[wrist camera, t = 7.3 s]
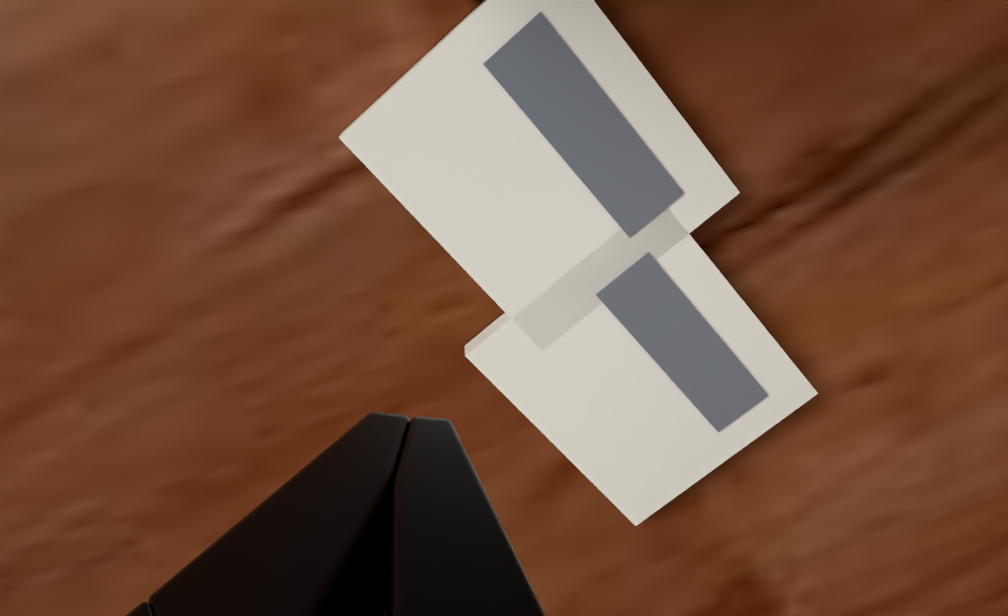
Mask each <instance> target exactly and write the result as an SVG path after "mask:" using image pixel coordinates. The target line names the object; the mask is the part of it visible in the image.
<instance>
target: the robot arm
mask: <svg viewBox="0 0 1008 616" xmlns="http://www.w3.org/2000/svg"><path fill="white" fill-rule="evenodd" d="M126 616H546V615H545V613H544V611H543V609H542V607H541V605H540V603H539V601H538V599H537V597H536V595H535V593H534V591H533V589H532V587H531V585H530V583H529V580H528V578H527V576H526V574H525V572H524V570H523V568H522V566H521V564H520V562H519V560H518V558H517V556H516V554H515V552H514V550H513V548H512V545H511V543H510V541H509V539H508V537H507V535H506V533H505V531H504V529H503V527H502V525H501V523H500V521H499V519H498V517H497V515H496V513H495V510H494V508H493V506H492V504H491V502H490V500H489V498H488V496H487V494H486V492H485V490H484V488H483V486H482V484H481V482H480V480H479V478H478V476H477V473H476V471H475V469H474V467H473V465H472V463H471V461H470V459H469V457H468V455H467V453H466V451H465V449H464V447H463V445H462V443H461V441H460V438H459V436H458V434H457V432H456V430H455V428H454V426H453V424H452V423H451V422H450V421H449V420H448V419H441V418H431V417H421V416H416V417H414V418H412V420H411V421H410V420H409V418H408V417H407V416H406V415H401V414H392V413H382V412H372V413H370V414H368V415H367V416H365V417H364V418H363V419H362V420H361V421H359V422H358V423H357V424H356V425H355V426H353V427H352V428H351V429H350V430H349V431H347V432H346V433H345V434H344V435H343V436H341V437H340V438H339V439H338V440H337V441H335V442H334V443H333V444H332V445H331V446H329V447H328V448H327V449H326V450H325V451H323V452H322V453H321V454H320V455H319V456H317V457H316V458H315V459H314V460H313V461H311V462H310V463H309V464H308V465H307V466H305V467H304V468H303V469H302V470H301V471H300V472H298V473H297V474H296V475H295V476H294V477H292V478H291V479H290V480H289V481H288V482H286V483H285V484H284V485H283V486H282V487H280V488H279V489H278V490H277V491H276V492H274V493H273V494H272V495H271V496H270V497H268V498H267V499H266V500H265V501H264V502H262V503H261V504H260V505H259V506H258V507H256V508H255V509H254V510H253V511H252V512H250V513H249V514H248V515H247V516H246V517H244V518H243V519H242V520H241V521H240V522H238V523H237V524H236V525H235V526H234V527H232V528H231V529H230V530H229V531H228V532H226V533H225V534H224V535H223V536H222V537H220V538H219V539H218V540H217V541H216V542H214V543H213V544H212V545H211V546H210V547H208V548H207V549H206V550H205V551H204V552H202V553H201V554H200V555H199V556H198V557H196V558H195V559H194V560H193V561H192V562H190V563H189V564H188V565H187V566H186V567H184V568H183V569H182V570H181V571H180V572H178V573H177V574H176V575H175V576H174V577H173V578H171V579H170V580H169V581H168V582H167V583H165V584H164V585H163V586H162V587H161V588H159V589H158V590H157V591H156V592H155V593H153V594H152V595H151V596H150V598H149V603H147V602H143V603H141V604H140V605H138V606H137V607H136V608H135V609H134V610H132V611H131V612H130V613H129V614H128V615H126Z"/></svg>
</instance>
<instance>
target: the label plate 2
mask: <svg viewBox="0 0 1008 616" xmlns="http://www.w3.org/2000/svg"><path fill="white" fill-rule="evenodd" d="M666 208H667V207H666ZM665 210H667V209H665ZM671 213H672V212H671ZM660 214H661V213H660ZM662 215H663V214H662ZM663 216H664V215H663ZM668 216H669V215H668ZM672 216H673V215H672ZM669 217H670V216H669ZM669 217H668V218H669ZM674 217H675V216H674ZM662 218H663V217H662ZM662 218H661V219H662ZM669 219H670V218H669ZM662 220H664V219H662ZM667 220H668V219H667ZM675 220H676V219H675ZM677 221H678V220H677ZM657 222H659V221H657ZM662 222H663V221H662ZM678 222H679V221H678ZM654 223H655V222H654ZM664 223H665V222H664ZM671 223H673V222H671ZM671 223H670V224H671ZM657 224H658V223H657ZM662 224H663V223H662ZM667 224H668V222H667ZM677 224H678V223H677ZM677 224H676V225H677ZM651 225H652V224H651ZM672 225H673V224H672ZM660 226H661V225H660ZM660 226H659V227H660ZM663 226H664V225H663ZM665 226H666V225H665ZM677 226H679V225H677ZM682 226H683V225H682ZM666 227H667V226H666ZM666 227H665V228H666ZM671 227H672V226H671ZM674 227H675V226H674ZM674 227H673V228H674ZM679 227H680V226H679ZM660 228H661V227H660ZM677 228H678V227H677ZM621 229H622V228H621ZM649 229H650V228H649ZM658 229H659V228H658ZM666 229H667V228H666ZM671 229H672V228H671ZM679 229H680V228H679ZM660 230H661V229H660ZM668 230H669V229H668ZM672 230H673V229H672ZM685 230H686V229H685ZM658 231H659V230H658ZM669 231H670V230H669ZM669 231H668V233H669ZM673 231H675V230H673ZM686 231H687V230H686ZM680 232H681V231H680ZM661 233H662V232H661ZM668 233H667V234H668ZM674 233H675V232H674ZM686 233H687V232H686ZM658 234H659V233H658ZM663 234H664V233H663ZM678 234H679V233H678ZM680 234H681V233H680ZM618 235H619V234H618ZM635 235H636V234H635ZM669 235H670V234H669ZM673 235H674V234H673ZM681 235H682V234H681ZM657 236H659V235H657ZM675 236H676V235H675ZM683 236H684V235H683ZM657 238H658V237H657ZM662 238H663V237H662ZM670 238H671V237H670ZM663 239H664V238H663ZM668 239H669V238H668ZM679 239H680V238H679ZM679 239H678V240H679ZM612 240H613V239H612ZM645 240H646V239H645ZM657 240H658V239H657ZM633 241H634V240H633ZM649 241H650V240H649ZM654 241H656V240H654ZM659 241H660V240H659ZM666 241H667V240H666ZM671 241H672V240H671ZM640 242H641V241H640ZM642 242H643V241H642ZM644 242H645V241H644ZM652 242H653V241H652ZM672 242H673V241H672ZM672 242H671V243H672ZM677 242H678V241H677ZM630 244H631V243H630ZM644 244H645V243H644ZM660 244H661V243H660ZM669 244H670V243H669ZM654 245H655V244H654ZM661 245H662V244H661ZM661 245H660V247H662V246H661ZM666 245H667V244H666ZM667 246H668V245H667ZM672 246H673V245H672ZM638 247H639V246H638ZM653 247H654V246H653ZM660 247H659V248H660ZM664 247H665V243H664ZM642 248H643V247H642ZM635 249H636V248H635ZM629 250H630V249H629ZM649 250H650V249H649ZM659 250H660V249H659ZM635 251H636V250H635ZM663 251H664V250H663ZM663 251H662V252H663ZM632 252H633V251H632ZM659 252H660V251H659ZM651 253H652V252H651ZM632 254H633V253H632ZM639 254H642V253H639ZM644 254H645V253H644ZM657 254H658V253H657ZM655 255H656V254H655ZM658 255H659V254H658ZM658 255H657V256H658ZM606 256H607V255H606ZM600 257H601V256H600ZM612 259H613V258H612ZM631 259H632V258H631ZM617 260H618V259H617ZM611 261H612V260H611ZM626 261H627V260H626ZM632 261H633V260H632ZM604 262H605V261H604ZM630 263H631V262H630ZM606 264H607V263H606ZM632 264H633V263H632ZM632 264H631V266H630V267H629V268H628V269H626V270H625V271H623V273H622V274H620V275H617V276H618V277H617V278H615V279H614V280H613V281H612V282H610V283H609V284H608V285H607V286H605V287H604V288H603V289H602V290H600V291H599V292H598V293H596V296H597V297H598V298H599V299H600V300H601V301H602V302H603V303H602V304H601V305H600V306H598V307H597V308H596V309H595V310H593V311H592V312H591V313H590V314H588V315H587V316H586V317H585V318H583V319H582V320H581V321H580V322H578V323H577V324H576V325H575V326H573V327H572V328H571V329H570V330H568V331H567V332H566V333H565V334H563V335H562V336H561V337H560V338H558V339H557V340H556V341H555V342H553V343H552V344H551V345H550V346H548V347H547V348H546V349H545V350H543V351H541V349H540V348H539V347H538V346H537V345H536V344H535V343H534V342H533V341H532V340H531V339H530V338H529V336H527V335H526V334H525V333H524V331H522V330H521V328H520V327H519V326H518V325H519V324H518V325H517V324H516V323H515V322H514V321H513V320H512V319H511V318H510V317H509V316H508V315H507V314H506V313H504V314H503V315H501V316H500V317H499V318H498V319H496V320H495V321H494V322H493V323H492V324H490V325H489V326H488V327H487V328H486V329H484V330H483V331H482V332H481V333H479V334H478V335H477V336H476V337H475V338H473V339H472V340H471V341H470V342H469V343H467V344H466V345H465V356H466V357H467V358H468V359H469V360H470V361H471V362H472V363H473V364H474V365H475V366H476V367H477V368H478V369H479V370H480V371H481V372H482V373H483V374H484V375H485V376H486V377H487V378H488V379H489V380H490V381H491V382H492V383H493V384H494V385H495V386H496V387H497V388H498V389H499V390H500V391H501V392H502V393H503V394H504V395H505V396H506V397H507V398H508V399H509V400H510V401H511V402H512V403H513V404H514V405H515V406H516V407H517V408H518V409H519V410H520V411H521V412H522V413H523V414H524V415H525V416H526V417H527V418H528V419H529V420H530V421H531V422H532V423H533V424H534V425H535V426H536V427H537V428H538V429H539V430H540V431H541V432H542V433H543V434H544V435H545V436H546V437H547V438H548V439H549V440H550V441H551V442H552V443H553V444H554V445H555V446H556V447H557V448H558V449H559V450H560V451H561V452H562V453H563V454H564V455H565V456H566V457H567V458H568V459H569V460H570V461H571V462H572V463H573V464H574V465H575V466H576V467H577V468H578V469H579V470H580V471H581V472H582V473H583V474H584V475H585V476H586V477H587V478H588V479H589V480H590V481H591V482H592V483H593V484H594V485H595V486H596V487H597V488H598V489H599V490H600V491H601V492H602V493H603V494H604V495H605V496H606V497H607V498H608V499H609V500H610V501H611V502H612V503H613V504H614V505H615V506H616V507H617V508H618V509H619V510H620V511H621V512H622V513H623V514H624V515H625V516H626V517H627V518H628V519H629V520H630V521H631V522H632V523H633V524H634V525H635V526H637V525H638V524H639V523H641V522H642V521H644V520H645V519H646V518H648V517H649V516H650V515H652V514H653V513H655V512H656V511H657V510H659V509H660V508H661V507H663V506H664V505H666V504H667V503H668V502H670V501H671V500H672V499H674V498H675V497H677V496H678V495H679V494H681V493H682V492H683V491H685V490H686V489H688V488H689V487H690V486H692V485H693V484H694V483H696V482H697V481H699V480H700V479H701V478H703V477H704V476H705V475H707V474H708V473H710V472H711V471H712V470H714V469H715V468H716V467H718V466H719V465H721V464H722V463H723V462H725V461H726V460H727V459H729V458H730V457H732V456H733V455H734V454H736V453H737V452H738V451H740V450H741V449H743V448H744V447H745V446H747V445H748V444H749V443H751V442H752V441H754V440H755V439H756V438H758V437H759V436H760V435H762V434H763V433H765V432H766V431H767V430H769V429H770V428H772V427H773V426H774V425H776V424H777V423H778V422H780V421H781V420H783V419H784V418H785V417H787V416H788V415H789V414H791V413H792V412H794V411H795V410H796V409H798V408H799V407H800V406H802V405H803V404H805V403H806V402H807V401H809V400H810V399H811V398H813V397H814V396H816V395H817V394H818V393H817V392H816V390H815V389H814V388H813V387H812V385H811V384H810V383H809V382H808V380H807V379H806V378H805V377H804V375H803V374H802V373H801V372H800V370H799V369H798V368H797V367H796V365H795V364H794V363H793V362H792V361H791V359H790V358H789V357H788V356H787V354H786V353H785V352H784V351H783V349H782V348H781V347H780V346H779V344H778V343H777V342H776V341H775V339H774V338H773V337H772V336H771V334H770V333H769V332H768V331H767V330H766V328H765V327H764V326H763V325H762V323H761V322H760V321H759V320H758V318H757V317H756V316H755V315H754V313H753V312H752V311H751V310H750V308H749V307H748V306H747V305H746V304H745V302H744V301H743V300H742V299H741V297H740V296H739V295H738V294H737V292H736V291H735V290H734V289H733V287H732V286H731V285H730V284H729V282H728V281H727V280H726V279H725V277H724V276H723V275H722V274H721V273H720V271H719V270H718V269H717V268H716V266H715V265H714V264H713V263H712V261H711V260H710V259H709V258H708V256H707V255H706V254H705V253H704V251H703V250H702V249H701V248H700V247H699V245H698V244H697V243H696V242H695V240H694V239H693V238H692V237H691V235H690V234H689V233H688V235H687V236H686V237H685V236H684V238H683V239H682V240H681V241H680V240H679V242H678V243H677V244H676V245H674V246H673V247H672V248H671V249H670V248H669V250H668V251H667V252H665V253H664V254H663V255H662V256H661V257H659V258H658V259H657V260H656V261H655V259H654V258H653V257H652V256H651V254H650V253H649V252H648V253H646V254H645V255H644V256H643V257H641V258H640V259H639V260H638V261H636V262H635V263H634V264H633V265H632ZM626 265H628V264H626ZM616 266H617V265H616ZM605 267H606V266H605ZM627 267H628V266H627ZM592 268H593V267H592ZM611 268H612V267H611ZM597 269H598V268H597ZM623 270H624V269H623ZM592 271H593V270H592ZM593 272H594V271H593ZM607 273H608V272H607ZM612 273H613V272H612ZM578 275H579V274H578ZM584 276H585V275H584ZM574 277H575V276H574ZM590 277H591V276H590ZM598 277H599V276H598ZM605 277H606V276H605ZM576 278H577V277H576ZM574 279H575V278H574ZM610 279H611V278H610ZM588 280H589V279H588ZM594 280H595V278H594ZM594 280H593V281H594ZM603 282H604V281H603ZM577 283H578V282H577ZM564 284H565V283H564ZM593 284H594V283H593ZM560 285H561V284H560ZM581 286H582V285H581ZM590 286H591V285H590ZM598 286H599V285H598ZM555 287H556V286H555ZM567 287H568V286H567ZM587 287H588V286H587ZM593 288H594V287H593ZM570 289H571V288H570ZM575 289H576V288H575ZM579 289H580V288H579ZM580 290H581V289H580ZM574 291H575V290H574ZM582 291H583V290H582ZM590 291H591V290H590ZM594 291H595V290H594ZM594 294H595V293H594ZM560 295H561V294H560ZM552 298H553V297H552ZM552 298H551V299H552ZM563 298H564V297H563ZM578 298H579V297H578ZM591 298H592V297H591ZM572 299H573V298H572ZM585 300H586V299H585ZM579 301H580V300H579ZM556 302H557V301H556ZM567 303H568V302H567ZM579 303H580V302H579ZM572 304H573V303H572ZM549 305H550V304H549ZM582 305H583V304H582ZM550 306H551V305H550ZM593 306H594V305H593ZM544 307H545V306H544ZM563 308H564V307H563ZM567 310H568V309H567ZM570 310H571V309H570ZM581 311H582V310H581ZM548 312H549V311H548ZM557 314H558V313H557ZM577 316H578V315H577ZM537 319H538V317H537ZM578 321H579V320H578ZM545 322H546V321H545ZM550 324H551V323H550ZM570 326H571V325H570ZM542 334H543V333H542ZM560 334H561V333H560ZM532 336H533V335H532ZM540 339H541V338H540ZM534 340H535V339H534Z"/></svg>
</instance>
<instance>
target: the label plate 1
mask: <svg viewBox="0 0 1008 616" xmlns="http://www.w3.org/2000/svg"><path fill="white" fill-rule="evenodd" d="M339 139H340V140H341V141H342V142H343V143H344V144H345V145H346V146H347V147H348V148H349V149H350V150H351V151H352V152H353V153H354V154H355V155H356V156H357V157H358V158H359V160H360V161H361V162H362V163H363V164H364V165H365V166H366V167H367V168H368V169H369V170H370V171H371V172H372V173H373V174H374V175H375V176H376V177H377V178H378V179H379V181H380V182H381V183H382V184H383V185H384V186H385V187H386V188H387V189H388V190H389V191H390V192H391V193H392V194H393V195H394V196H395V197H396V198H397V199H398V200H399V202H400V203H401V204H402V205H403V206H404V207H405V208H406V209H407V210H408V211H409V212H410V213H411V214H412V215H413V216H414V217H415V218H416V219H417V220H418V221H419V223H420V224H421V225H422V226H423V227H424V228H425V229H426V230H427V231H428V232H429V233H430V234H431V235H432V236H433V237H434V238H435V239H436V240H437V241H438V242H439V243H440V245H441V246H442V247H443V248H444V249H445V250H446V251H447V252H448V253H449V254H450V255H451V256H452V257H453V258H454V259H455V260H456V261H457V262H458V263H459V264H460V266H461V267H462V268H463V269H464V270H465V271H466V272H467V273H468V274H469V275H470V276H471V277H472V278H473V279H474V280H475V281H476V282H477V283H478V284H479V285H480V287H481V288H482V289H483V290H484V291H485V292H486V293H487V294H488V295H489V296H490V297H491V298H492V299H493V300H494V301H495V302H496V303H497V304H498V305H499V306H500V307H501V309H502V310H503V311H504V312H505V313H506V314H507V315H508V316H509V317H510V318H511V319H512V320H513V321H514V322H515V323H516V324H517V325H518V324H519V325H518V326H519V327H520V328H521V330H522V331H524V333H525V334H526V335H527V336H529V338H530V339H531V340H532V341H533V342H534V343H535V344H536V345H537V346H538V347H539V348H540V349H541V351H543V350H545V349H546V348H547V347H548V346H550V345H551V344H552V343H553V342H555V341H556V340H557V339H558V338H560V337H561V336H562V335H563V334H565V333H566V332H567V331H568V330H570V329H571V328H572V327H573V326H575V325H576V324H577V323H578V322H580V321H581V320H582V319H583V318H585V317H586V316H587V315H588V314H590V313H591V312H592V311H593V310H595V309H596V308H597V307H598V306H600V305H601V304H602V303H603V302H602V301H601V300H600V299H599V298H598V297H597V296H596V293H598V292H599V291H600V290H602V289H603V288H604V287H605V286H607V285H608V284H609V283H610V282H612V281H613V280H614V279H615V278H617V277H618V276H617V275H620V274H622V273H623V271H625V270H626V269H628V268H629V267H630V266H631V264H632V263H633V264H634V263H635V262H636V261H638V260H639V259H640V258H641V257H643V256H644V255H645V254H646V253H648V252H649V253H650V254H651V256H652V257H653V258H654V259H655V261H656V260H657V259H658V258H659V257H661V256H662V255H663V254H664V253H665V252H667V251H668V250H669V248H670V249H671V248H672V247H673V246H674V245H676V244H677V243H678V242H679V240H680V241H681V240H682V239H683V238H684V236H685V237H686V236H687V235H688V233H691V232H692V231H693V230H694V229H696V228H697V227H698V226H699V225H701V224H702V223H703V222H704V221H706V220H707V219H708V218H709V217H710V216H712V215H713V214H714V213H715V212H717V211H718V210H719V209H720V208H722V207H723V206H724V205H725V204H727V203H728V202H729V201H730V200H732V199H733V198H734V197H735V196H737V195H738V194H739V193H740V192H739V191H738V189H737V188H736V187H735V185H734V184H733V183H732V181H731V180H730V179H729V177H728V176H727V175H726V174H725V172H724V171H723V170H722V168H721V167H720V166H719V164H718V163H717V162H716V160H715V159H714V158H713V156H712V155H711V154H710V153H709V151H708V150H707V149H706V147H705V146H704V145H703V143H702V142H701V141H700V139H699V138H698V137H697V135H696V134H695V133H694V131H693V130H692V129H691V128H690V126H689V125H688V124H687V122H686V121H685V120H684V118H683V117H682V116H681V114H680V113H679V112H678V110H677V109H676V108H675V107H674V105H673V104H672V103H671V101H670V100H669V99H668V97H667V96H666V95H665V93H664V92H663V91H662V89H661V88H660V87H659V85H658V84H657V83H656V82H655V80H654V79H653V78H652V76H651V75H650V74H649V72H648V71H647V70H646V68H645V67H644V66H643V64H642V63H641V62H640V60H639V59H638V58H637V57H636V55H635V54H634V53H633V51H632V50H631V49H630V47H629V46H628V45H627V43H626V42H625V41H624V39H623V38H622V37H621V36H620V34H619V33H618V32H617V30H616V29H615V28H614V26H613V25H612V24H611V22H610V21H609V20H608V18H607V17H606V16H605V14H604V13H603V12H602V11H601V9H600V8H599V7H598V5H597V4H596V3H595V1H594V0H484V1H483V2H482V3H481V4H480V5H479V6H478V7H477V8H476V9H475V10H474V11H473V12H471V13H470V14H469V15H468V16H467V17H466V18H465V19H464V20H463V21H462V22H461V23H460V24H458V25H457V26H456V27H455V28H454V29H453V30H452V31H451V32H450V33H449V34H448V35H447V36H446V37H444V38H443V39H442V40H441V41H440V42H439V43H438V44H437V45H436V46H435V47H434V48H433V49H432V50H430V51H429V52H428V53H427V54H426V55H425V56H424V57H423V58H422V59H421V60H420V61H419V62H418V63H416V64H415V65H414V66H413V67H412V68H411V69H410V70H409V71H408V72H407V73H406V74H405V75H404V76H402V77H401V78H400V79H399V80H398V81H397V82H396V83H395V84H394V85H393V86H392V87H391V88H390V89H388V90H387V91H386V92H385V93H384V94H383V95H382V96H381V97H380V98H379V99H378V100H377V101H376V102H374V103H373V104H372V105H371V106H370V107H369V108H368V109H367V110H366V111H365V112H364V113H363V114H361V115H360V116H359V117H358V118H357V119H356V120H355V121H354V122H353V123H352V124H351V125H350V126H349V127H347V128H346V129H345V130H344V131H343V132H342V133H341V135H340V137H339ZM666 207H667V208H666ZM665 209H667V210H665ZM671 212H672V213H671ZM660 213H661V214H660ZM662 214H663V215H664V216H663V215H662ZM668 215H669V216H670V217H669V216H668ZM672 215H673V216H672ZM674 216H675V217H674ZM662 217H663V218H662ZM668 217H669V218H670V219H669V218H668ZM661 218H662V219H664V220H662V219H661ZM667 219H668V220H667ZM675 219H676V220H675ZM677 220H678V221H679V222H678V221H677ZM657 221H659V222H657ZM662 221H663V222H662ZM654 222H655V223H654ZM664 222H665V223H664ZM667 222H668V224H667ZM671 222H673V223H671ZM657 223H658V224H657ZM662 223H663V224H662ZM670 223H671V224H670ZM677 223H678V224H677ZM651 224H652V225H651ZM672 224H673V225H672ZM676 224H677V225H679V226H680V227H679V226H677V225H676ZM660 225H661V226H660ZM663 225H664V226H663ZM665 225H666V226H667V227H666V226H665ZM682 225H683V226H682ZM659 226H660V227H661V228H660V227H659ZM671 226H672V227H671ZM674 226H675V227H674ZM665 227H666V228H667V229H666V228H665ZM673 227H674V228H673ZM677 227H678V228H677ZM621 228H622V229H621ZM649 228H650V229H649ZM658 228H659V229H658ZM671 228H672V229H673V230H675V231H673V230H672V229H671ZM679 228H680V229H679ZM660 229H661V230H660ZM668 229H669V230H670V231H669V230H668ZM685 229H686V230H687V231H686V230H685ZM658 230H659V231H658ZM668 231H669V233H668ZM680 231H681V232H680ZM661 232H662V233H661ZM674 232H675V233H674ZM686 232H687V233H686ZM658 233H659V234H658ZM663 233H664V234H663ZM667 233H668V234H667ZM678 233H679V234H678ZM680 233H681V234H682V235H681V234H680ZM618 234H619V235H618ZM635 234H636V235H635ZM669 234H670V235H669ZM673 234H674V235H673ZM657 235H659V236H657ZM675 235H676V236H675ZM683 235H684V236H683ZM657 237H658V238H657ZM662 237H663V238H664V239H663V238H662ZM670 237H671V238H670ZM668 238H669V239H668ZM679 238H680V239H679ZM612 239H613V240H612ZM645 239H646V240H645ZM657 239H658V240H657ZM678 239H679V240H678ZM633 240H634V241H633ZM649 240H650V241H649ZM654 240H656V241H654ZM659 240H660V241H659ZM666 240H667V241H666ZM671 240H672V241H673V242H672V241H671ZM640 241H641V242H640ZM642 241H643V242H642ZM644 241H645V242H644ZM652 241H653V242H652ZM677 241H678V242H677ZM671 242H672V243H671ZM630 243H631V244H630ZM644 243H645V244H644ZM660 243H661V244H662V245H661V244H660ZM664 243H665V247H664ZM669 243H670V244H669ZM654 244H655V245H654ZM666 244H667V245H668V246H667V245H666ZM660 245H661V246H662V247H660ZM672 245H673V246H672ZM638 246H639V247H638ZM653 246H654V247H653ZM642 247H643V248H642ZM659 247H660V248H659ZM635 248H636V249H635ZM629 249H630V250H629ZM649 249H650V250H649ZM659 249H660V250H659ZM635 250H636V251H635ZM663 250H664V251H663ZM632 251H633V252H632ZM659 251H660V252H659ZM662 251H663V252H662ZM651 252H652V253H651ZM632 253H633V254H632ZM639 253H642V254H639ZM644 253H645V254H644ZM657 253H658V254H659V255H658V254H657ZM655 254H656V255H655ZM606 255H607V256H606ZM657 255H658V256H657ZM600 256H601V257H600ZM612 258H613V259H612ZM631 258H632V259H631ZM617 259H618V260H617ZM611 260H612V261H611ZM626 260H627V261H626ZM632 260H633V261H632ZM604 261H605V262H604ZM630 262H631V263H630ZM606 263H607V264H606ZM626 264H628V265H626ZM633 264H632V265H633ZM616 265H617V266H616ZM605 266H606V267H605ZM627 266H628V267H627ZM592 267H593V268H592ZM611 267H612V268H611ZM597 268H598V269H597ZM623 269H624V270H623ZM592 270H593V271H594V272H593V271H592ZM607 272H608V273H607ZM612 272H613V273H612ZM578 274H579V275H578ZM584 275H585V276H584ZM574 276H575V277H574ZM590 276H591V277H590ZM598 276H599V277H598ZM605 276H606V277H605ZM576 277H577V278H576ZM574 278H575V279H574ZM594 278H595V280H594ZM610 278H611V279H610ZM588 279H589V280H588ZM593 280H594V281H593ZM603 281H604V282H603ZM577 282H578V283H577ZM564 283H565V284H564ZM593 283H594V284H593ZM560 284H561V285H560ZM581 285H582V286H581ZM590 285H591V286H590ZM598 285H599V286H598ZM555 286H556V287H555ZM567 286H568V287H567ZM587 286H588V287H587ZM593 287H594V288H593ZM570 288H571V289H570ZM575 288H576V289H575ZM579 288H580V289H581V290H580V289H579ZM574 290H575V291H574ZM582 290H583V291H582ZM590 290H591V291H590ZM594 290H595V291H594ZM594 293H595V294H594ZM560 294H561V295H560ZM552 297H553V298H552ZM563 297H564V298H563ZM578 297H579V298H578ZM591 297H592V298H591ZM551 298H552V299H551ZM572 298H573V299H572ZM585 299H586V300H585ZM579 300H580V301H579ZM556 301H557V302H556ZM567 302H568V303H567ZM579 302H580V303H579ZM572 303H573V304H572ZM549 304H550V305H551V306H550V305H549ZM582 304H583V305H582ZM593 305H594V306H593ZM544 306H545V307H544ZM563 307H564V308H563ZM567 309H568V310H567ZM570 309H571V310H570ZM581 310H582V311H581ZM548 311H549V312H548ZM557 313H558V314H557ZM577 315H578V316H577ZM537 317H538V319H537ZM578 320H579V321H578ZM545 321H546V322H545ZM550 323H551V324H550ZM570 325H571V326H570ZM542 333H543V334H542ZM560 333H561V334H560ZM532 335H533V336H532ZM540 338H541V339H540ZM534 339H535V340H534Z"/></svg>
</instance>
